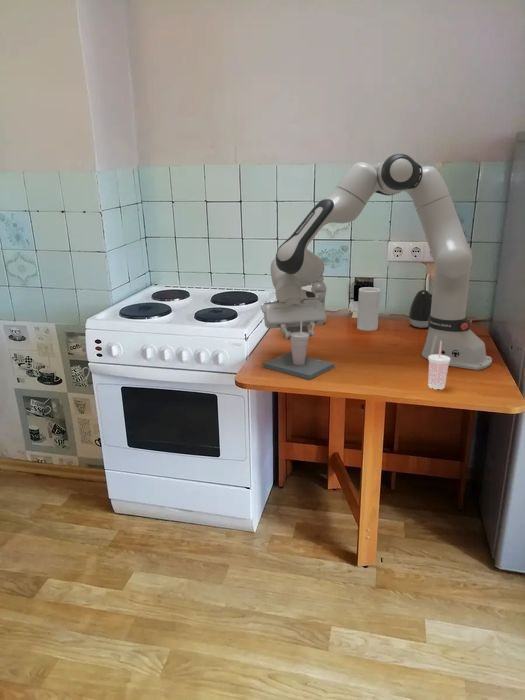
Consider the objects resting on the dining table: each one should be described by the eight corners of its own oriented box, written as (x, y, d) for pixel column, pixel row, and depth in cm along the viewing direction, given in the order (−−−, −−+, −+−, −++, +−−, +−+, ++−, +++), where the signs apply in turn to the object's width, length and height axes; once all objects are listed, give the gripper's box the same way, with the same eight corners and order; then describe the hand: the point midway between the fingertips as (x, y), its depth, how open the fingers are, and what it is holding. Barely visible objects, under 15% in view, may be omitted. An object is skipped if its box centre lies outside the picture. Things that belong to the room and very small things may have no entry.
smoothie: (309, 366, 171) (310, 323, 166) (289, 366, 171) (289, 323, 166) (308, 359, 177) (309, 318, 172) (288, 359, 177) (288, 318, 172)
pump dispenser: (433, 330, 215) (437, 293, 210) (407, 328, 218) (410, 291, 213) (434, 324, 224) (438, 288, 219) (408, 322, 227) (411, 286, 222)
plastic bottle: (327, 321, 228) (329, 274, 222) (322, 325, 222) (324, 277, 216) (313, 320, 231) (314, 273, 225) (307, 324, 225) (308, 276, 219)
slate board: (334, 367, 174) (334, 363, 173) (309, 379, 163) (309, 375, 163) (289, 356, 185) (289, 352, 184) (263, 367, 174) (263, 362, 174)
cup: (379, 330, 215) (381, 291, 210) (358, 330, 215) (360, 291, 210) (375, 325, 223) (377, 287, 218) (355, 325, 223) (357, 287, 218)
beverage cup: (448, 384, 160) (453, 339, 155) (446, 391, 154) (451, 345, 150) (426, 381, 162) (431, 337, 158) (424, 388, 157) (428, 342, 152)
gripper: (261, 296, 171) (270, 334, 165) (322, 292, 176) (332, 329, 170) (258, 307, 176) (266, 344, 170) (316, 303, 181) (326, 339, 176)
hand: (300, 336), depth 170 cm, fingers closed on smoothie, 6 cm apart
